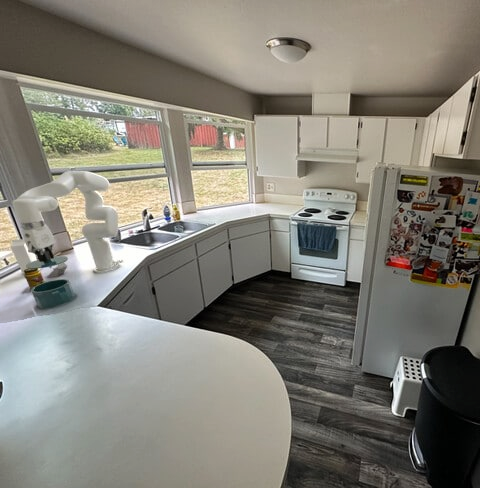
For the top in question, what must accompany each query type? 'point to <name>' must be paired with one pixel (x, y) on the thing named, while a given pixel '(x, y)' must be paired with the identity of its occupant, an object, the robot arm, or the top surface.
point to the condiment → (33, 277)
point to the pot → (53, 293)
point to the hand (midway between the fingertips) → (47, 259)
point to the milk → (22, 254)
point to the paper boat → (58, 270)
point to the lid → (49, 263)
